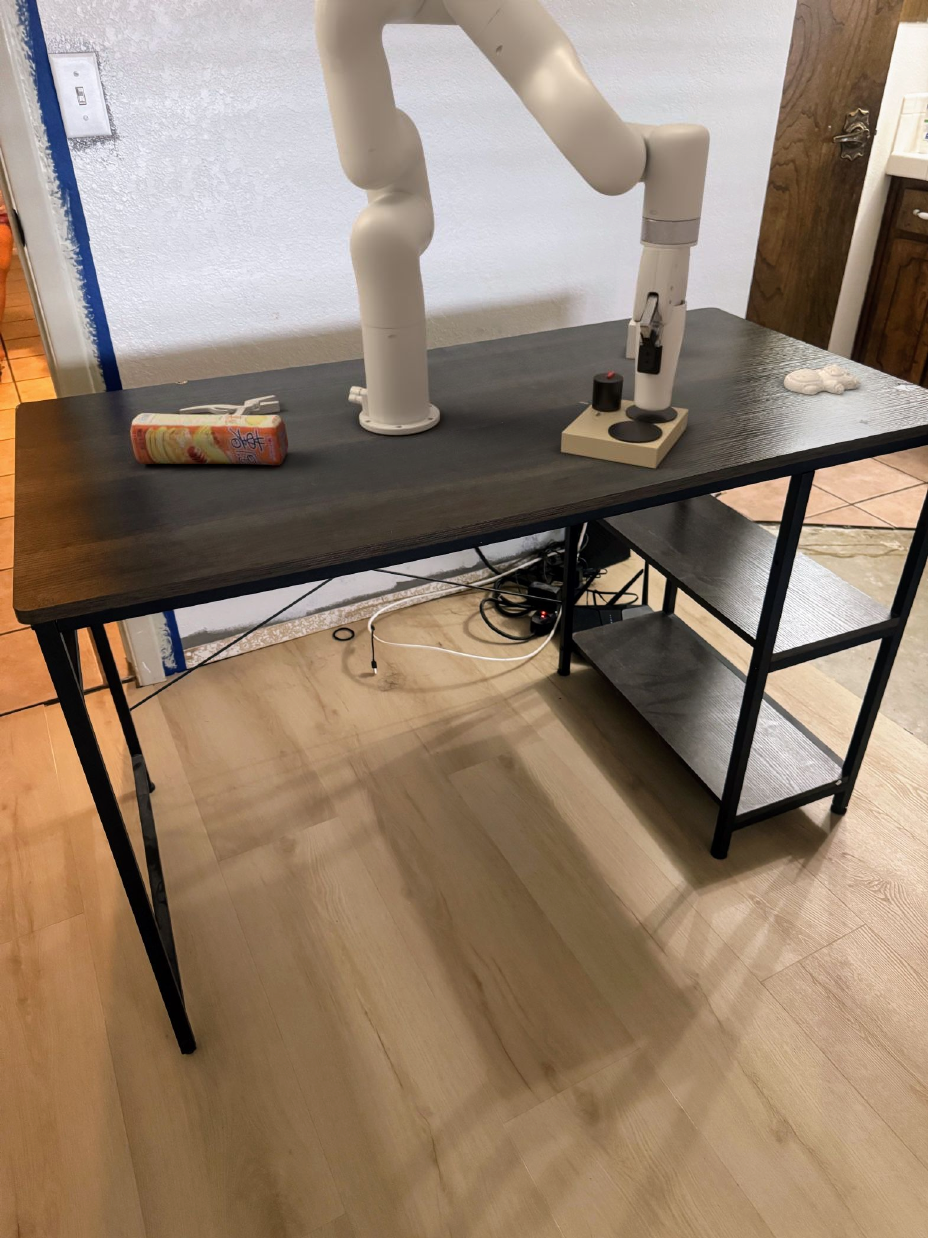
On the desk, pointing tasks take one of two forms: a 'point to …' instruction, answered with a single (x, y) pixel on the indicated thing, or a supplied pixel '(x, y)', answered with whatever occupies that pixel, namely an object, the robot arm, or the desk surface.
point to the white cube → (631, 340)
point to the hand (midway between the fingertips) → (656, 364)
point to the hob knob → (607, 392)
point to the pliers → (239, 407)
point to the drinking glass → (658, 388)
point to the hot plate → (595, 441)
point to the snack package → (209, 439)
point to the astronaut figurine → (820, 380)
